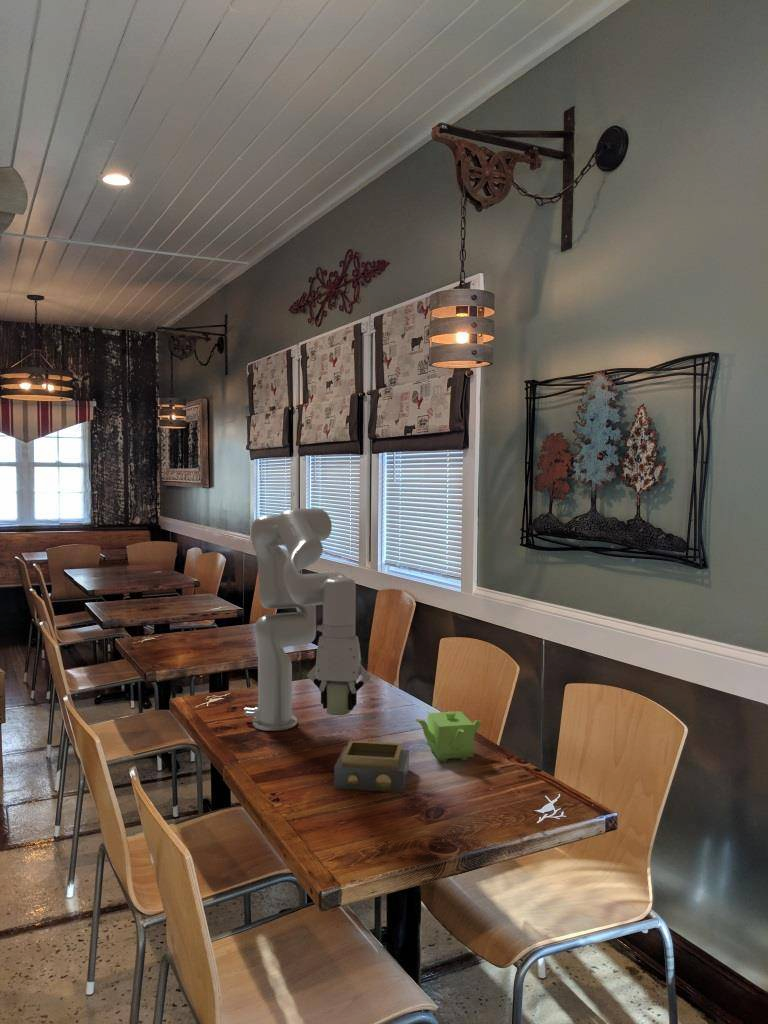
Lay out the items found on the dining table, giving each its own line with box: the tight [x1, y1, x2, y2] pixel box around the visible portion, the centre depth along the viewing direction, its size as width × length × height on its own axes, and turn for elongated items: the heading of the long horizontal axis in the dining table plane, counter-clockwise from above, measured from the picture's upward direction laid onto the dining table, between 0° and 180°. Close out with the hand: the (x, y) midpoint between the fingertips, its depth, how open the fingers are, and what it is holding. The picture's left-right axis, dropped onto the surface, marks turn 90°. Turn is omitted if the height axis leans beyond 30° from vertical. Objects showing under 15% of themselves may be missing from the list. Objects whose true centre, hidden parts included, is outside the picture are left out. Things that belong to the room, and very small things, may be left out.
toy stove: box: [333, 740, 410, 794], centre depth 177 cm, size 16×14×7 cm
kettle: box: [414, 710, 483, 763], centre depth 193 cm, size 15×14×11 cm
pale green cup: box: [326, 681, 351, 716], centre depth 176 cm, size 6×8×7 cm
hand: (338, 707), depth 176 cm, fingers closed on pale green cup, 5 cm apart
